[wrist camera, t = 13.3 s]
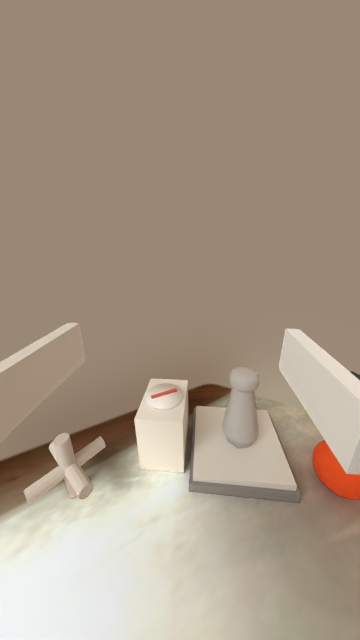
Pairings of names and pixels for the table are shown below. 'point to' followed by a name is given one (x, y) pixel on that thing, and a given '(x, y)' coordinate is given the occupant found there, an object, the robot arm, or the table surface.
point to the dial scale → (210, 447)
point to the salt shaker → (241, 408)
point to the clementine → (335, 473)
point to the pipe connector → (66, 469)
